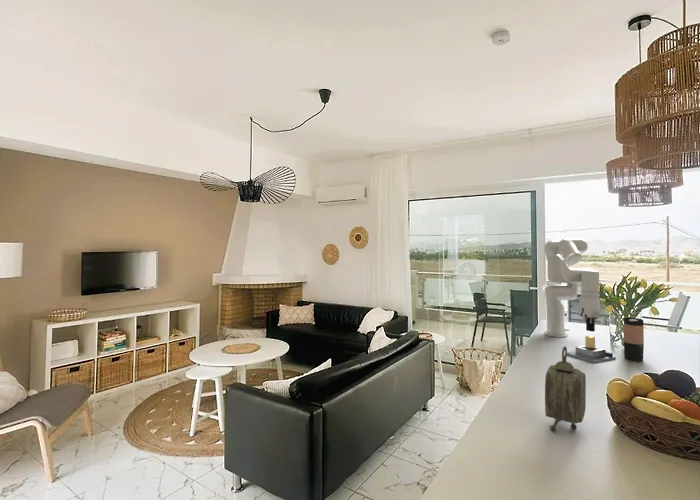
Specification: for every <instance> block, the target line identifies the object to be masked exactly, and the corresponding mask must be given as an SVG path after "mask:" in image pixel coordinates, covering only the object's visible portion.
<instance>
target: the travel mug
mask: <svg viewBox="0 0 700 500" xmlns="http://www.w3.org/2000/svg"><path fill="white" fill-rule="evenodd" d="M644 331H645V330H644V319H642V318H637V317H624V318H623V354H624V360H626V361H628V360H629V362H633V361H634V363H642V361H643V362H644V351H645V348H644V347H645V339H644V338H645V337H644V335H645V332H644Z"/></svg>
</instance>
